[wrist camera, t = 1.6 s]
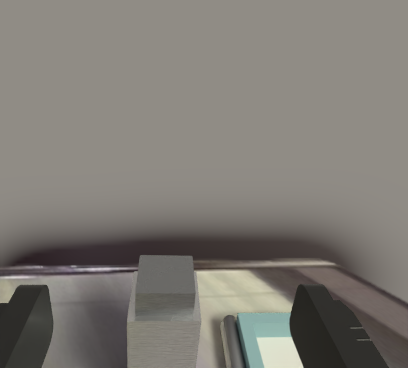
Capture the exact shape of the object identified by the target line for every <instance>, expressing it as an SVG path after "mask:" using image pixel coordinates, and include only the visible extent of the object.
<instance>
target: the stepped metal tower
mask: <svg viewBox="0 0 408 368" xmlns="http://www.w3.org/2000/svg"><path fill="white" fill-rule="evenodd" d="M200 327H201V314H200V304H199V294H198V285H197V275H196V272H194V269H193V259H192V256H160V255H158V256H157V255H156V256H155V255H140V260H139V267H138V271H134V275H133V282H132V289H131V296H130V303H129V310H128V317H127V367H128V368H196V361H197V353H198V344H199V336H200Z"/></svg>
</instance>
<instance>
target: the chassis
mask: <svg viewBox="0 0 408 368" xmlns="http://www.w3.org/2000/svg"><path fill="white" fill-rule="evenodd" d="M290 315H291V313H238V315H237V320H235V317H234V316H232V315H228V316H226V317H224V319H223V321H221V327H220V330H221V336H222V342H223V348H224V355H225V361H226V367H227V368H304V367H303V365H302V362H301V360H300V357H299V355H298V352H297V350H296V347H295V345H294V342H293V340H292V337H291V333H290V327H289V320H290Z"/></svg>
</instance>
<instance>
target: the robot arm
mask: <svg viewBox="0 0 408 368" xmlns="http://www.w3.org/2000/svg"><path fill="white" fill-rule="evenodd" d="M289 327H290V333H291V337H292V340H293V342H294V345H295V347H296V350H297V352H298V355H299V357H300V360H301V362H302V365H303V367H304V368H389V367H388V366H387V364H386V362H385V361H384V359H383V358H382V356H381V355H380V353H379V352H378V350H377V348H376V347H375V345H374V344H373V342H372V341H370V338H369V336H368V334H367V333H366V331H365V330H364V329H362V325H361V324H360V322H359V320H358V319H357V317H356V316H355V314H354V313H353V312H352V311H351V310H350V309H349V308H348V307H347V306H346V305H344V304H343V303H342V302H341V301H340V300H333V299H332V297H331V295H330V294H329V292H328V290H327V289H326V287H325V286H324V285H322V284H300V285H299V286H298V288H297V292H296V295H295V299H294V303H293V307H292V311H291V315H290V320H289ZM52 333H53V316H52V309H51V302H50V295H49V289H48V286H47V285H19V286H18V287H17V289H16V290H15V292H14V294H13V296H12V297H11V299H10V301H9V303H0V368H41V367H42V364H43V362H44V359H45V356H46V353H47V350H48V348H49V345H50V342H51V338H52Z"/></svg>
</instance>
